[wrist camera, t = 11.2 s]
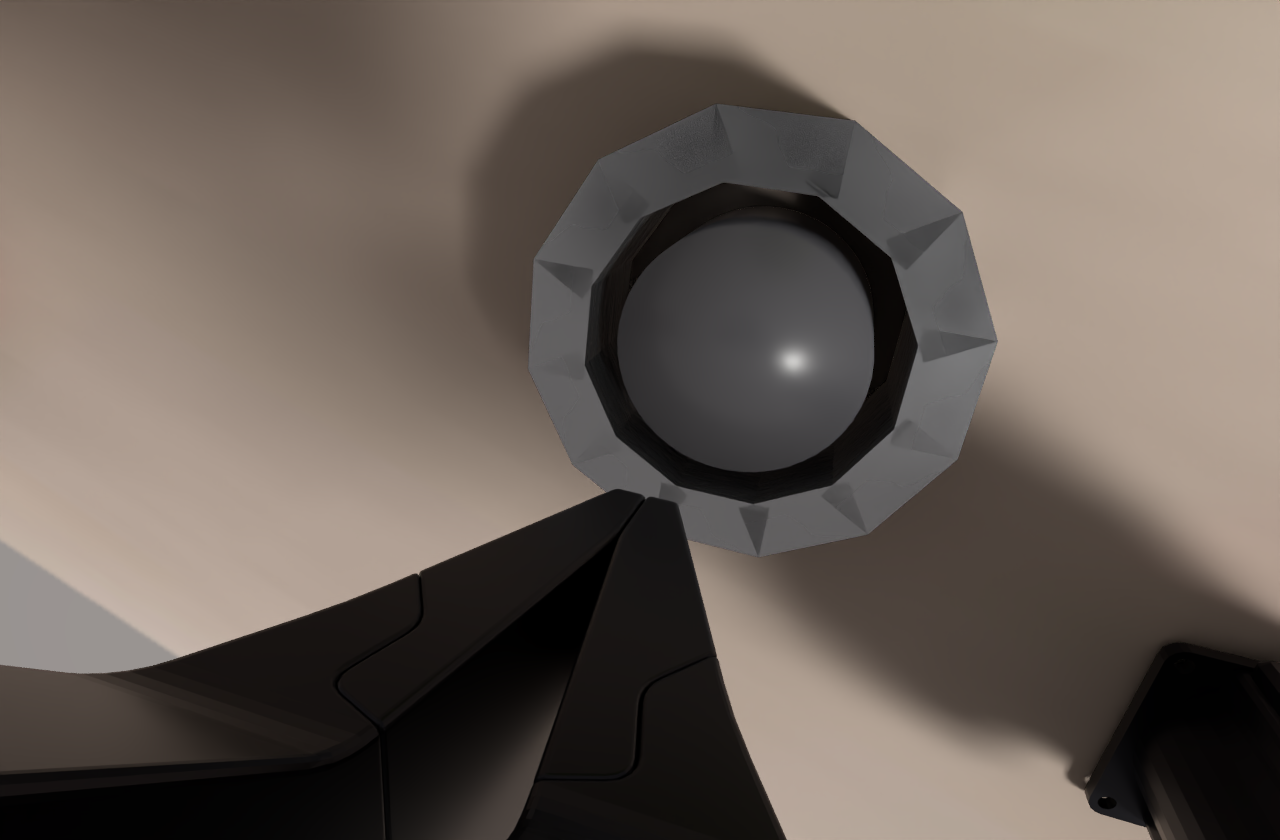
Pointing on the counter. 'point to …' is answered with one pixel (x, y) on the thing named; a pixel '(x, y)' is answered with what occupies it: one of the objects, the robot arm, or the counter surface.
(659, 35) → the counter surface
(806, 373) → the cap
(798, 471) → the ring mount
